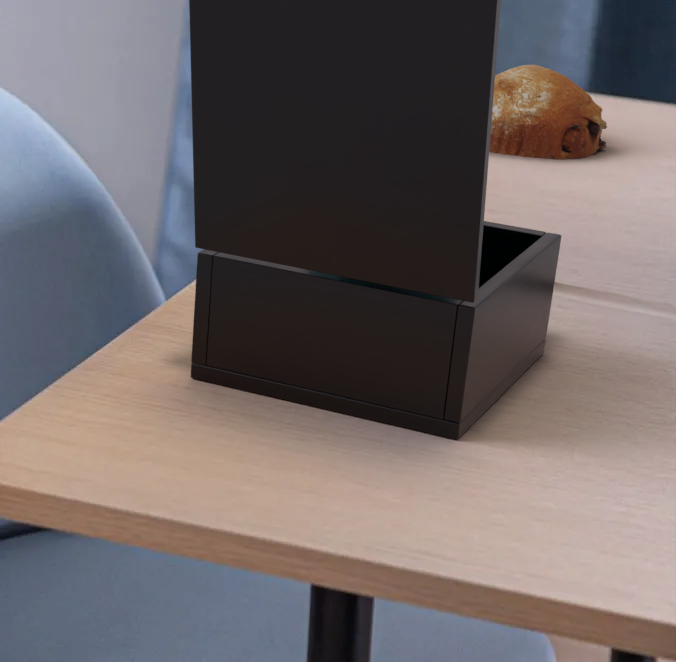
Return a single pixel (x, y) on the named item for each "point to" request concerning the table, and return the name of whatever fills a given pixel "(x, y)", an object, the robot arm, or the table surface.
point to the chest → (377, 334)
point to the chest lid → (346, 136)
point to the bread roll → (543, 116)
